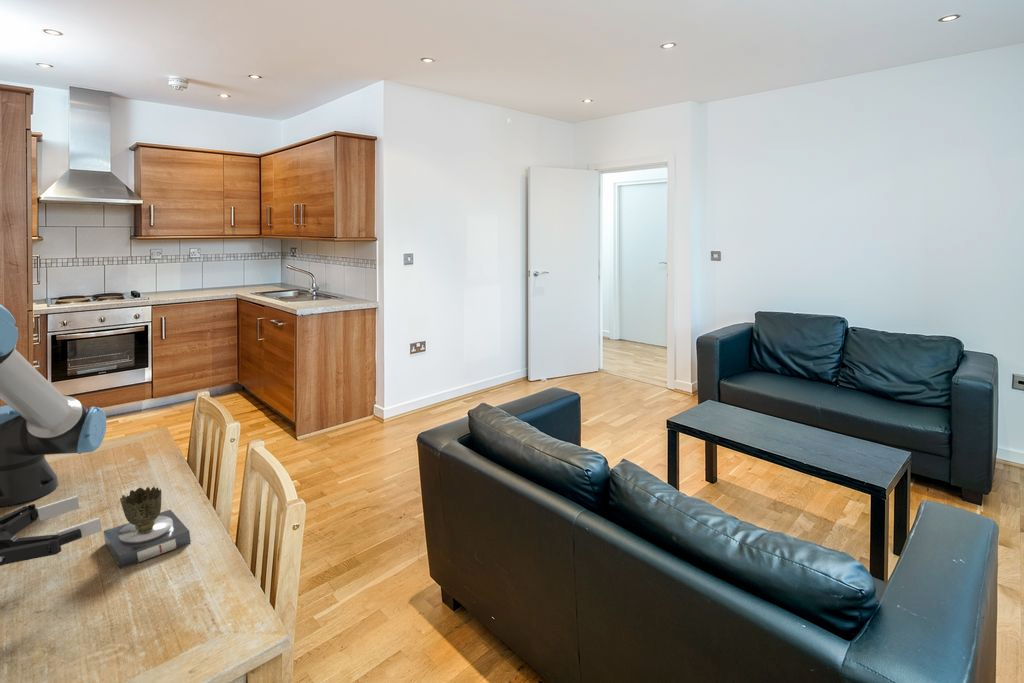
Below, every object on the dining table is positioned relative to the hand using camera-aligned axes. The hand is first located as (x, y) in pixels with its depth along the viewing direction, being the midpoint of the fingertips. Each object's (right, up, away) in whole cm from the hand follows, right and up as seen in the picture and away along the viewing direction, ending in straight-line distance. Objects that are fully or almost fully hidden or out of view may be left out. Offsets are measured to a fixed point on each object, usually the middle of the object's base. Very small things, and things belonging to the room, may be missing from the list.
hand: (88, 512), depth 111 cm
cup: (+6, -6, +9) cm, 12 cm away
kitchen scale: (+6, -10, +10) cm, 15 cm away
